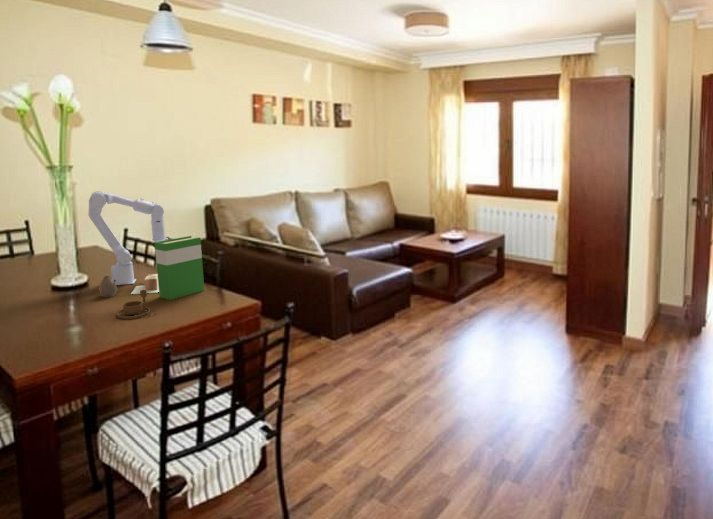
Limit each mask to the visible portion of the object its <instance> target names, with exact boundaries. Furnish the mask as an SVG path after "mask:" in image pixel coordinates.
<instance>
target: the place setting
mask: <svg viewBox="0 0 713 519" xmlns="http://www.w3.org/2000/svg"><path fill="white" fill-rule="evenodd" d="M139 295H140V297H141V298H142V301H140V300H139V301H138V300H134V301H133V300H132V301H127V302H125V303H123V304H122V309H120V310H119V311H117V312H116V316H117V317H118V318H119V319H122V318H124V319H123V320H131V319H130V318H135V319H139V318H138V317H140V318H143V317H146V316H148V315H150V311H151V309H150V307H146V306H143V303H145V304H146V301H147V300H146V297H147V295H148V294H147V292H146V290H141V291H140V294H139ZM142 309H143V310H147V311H148V312H147V311H145V312H144V313H141V312H142V311H143V310H142ZM123 312H125V313H123ZM121 313H122V314H126V315H122V314H121ZM119 314H121V315H119ZM137 314H138V315H137ZM147 314H148V315H147ZM151 314H154V316H155V315H157V312H152V313H151ZM129 315H134V316H129ZM145 315H146V316H145ZM142 316H143V317H142Z"/></svg>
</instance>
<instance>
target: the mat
mask: <svg viewBox="0 0 713 519" xmlns="http://www.w3.org/2000/svg"><path fill="white" fill-rule="evenodd" d="M141 290H145V284H144V285H136V286H135V287H134V288H133V290H132V291H131V293H130V295H132V294H133V295H140V291H141ZM146 292H147V293H149V294H159V293H158V292H159V288H158V289H157V290H146Z"/></svg>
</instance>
